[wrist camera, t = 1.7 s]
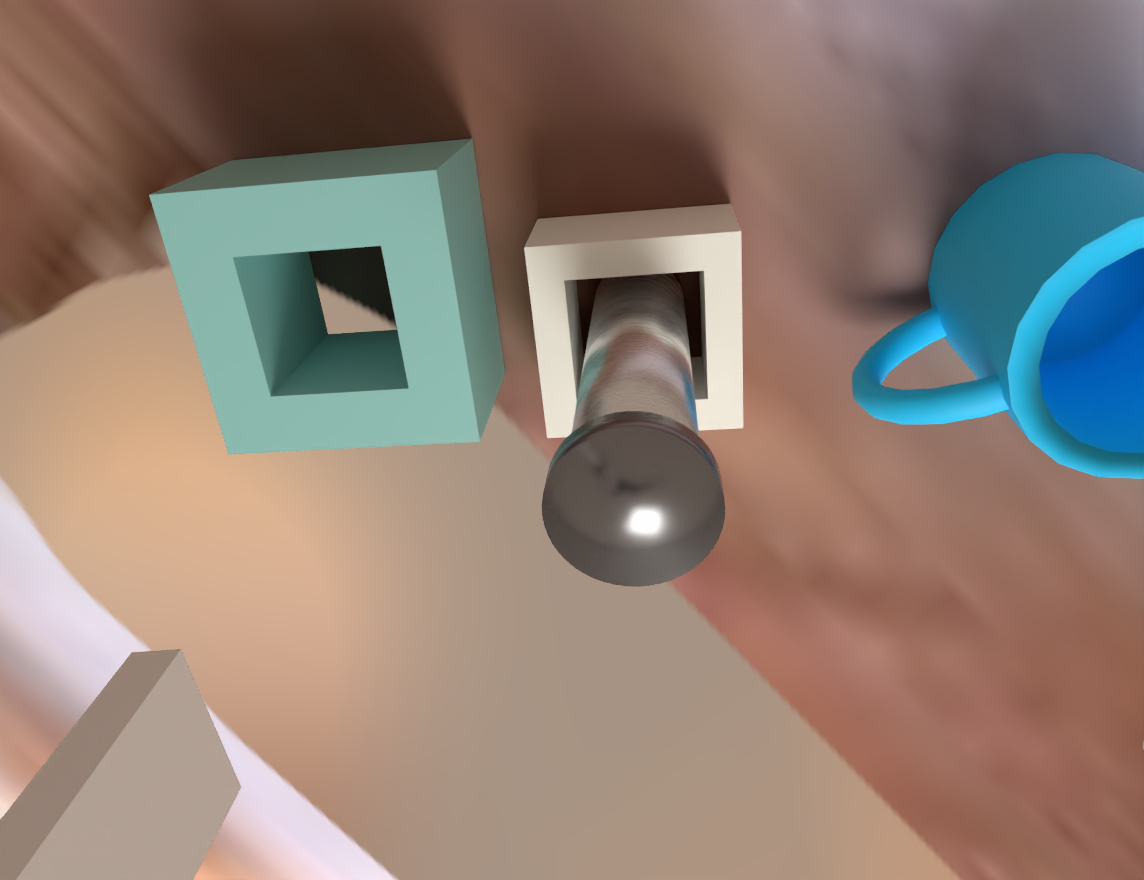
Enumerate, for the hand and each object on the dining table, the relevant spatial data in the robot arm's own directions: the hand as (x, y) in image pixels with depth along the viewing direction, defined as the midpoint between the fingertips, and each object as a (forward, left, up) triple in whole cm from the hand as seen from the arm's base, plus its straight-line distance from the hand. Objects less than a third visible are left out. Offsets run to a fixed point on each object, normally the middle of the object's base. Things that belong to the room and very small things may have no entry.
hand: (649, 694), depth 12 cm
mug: (+12, -2, -23) cm, 27 cm away
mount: (-1, -2, -23) cm, 23 cm away
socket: (-11, 0, -23) cm, 25 cm away
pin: (-1, -2, -23) cm, 23 cm away
